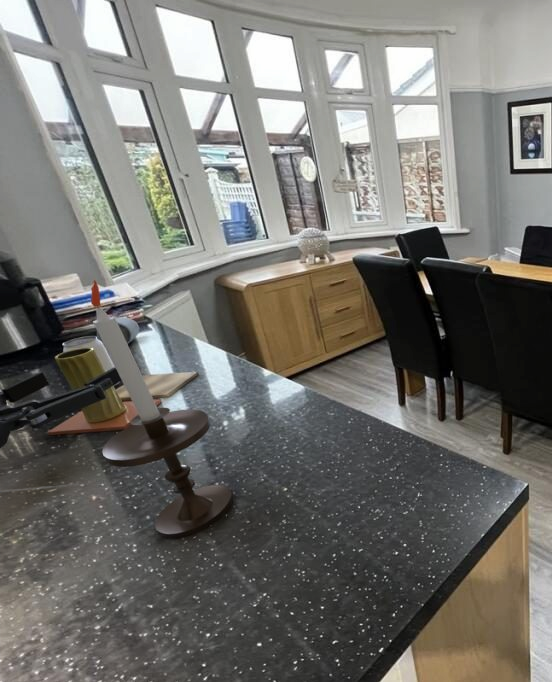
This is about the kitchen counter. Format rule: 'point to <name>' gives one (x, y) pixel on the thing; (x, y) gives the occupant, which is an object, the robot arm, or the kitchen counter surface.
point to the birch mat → (161, 384)
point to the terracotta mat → (82, 426)
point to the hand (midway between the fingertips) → (81, 375)
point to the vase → (81, 370)
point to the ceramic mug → (126, 329)
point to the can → (97, 347)
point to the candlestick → (159, 440)
